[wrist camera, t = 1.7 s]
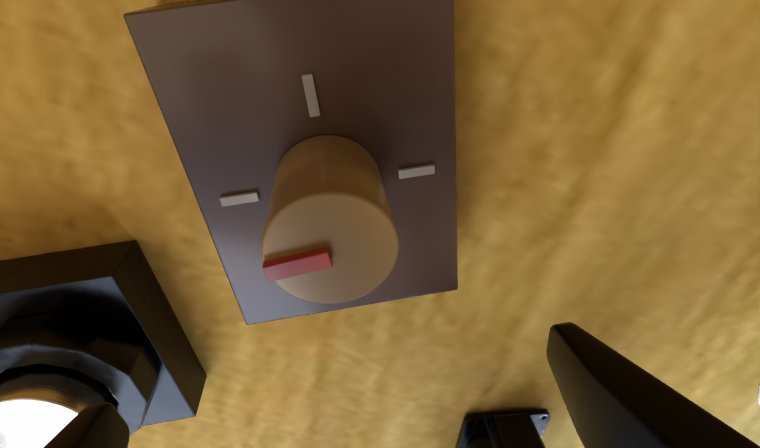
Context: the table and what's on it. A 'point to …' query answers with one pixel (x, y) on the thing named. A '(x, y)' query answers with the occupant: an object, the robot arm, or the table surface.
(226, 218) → the console
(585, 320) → the table surface
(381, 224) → the volume knob
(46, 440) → the power button
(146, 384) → the switch block
